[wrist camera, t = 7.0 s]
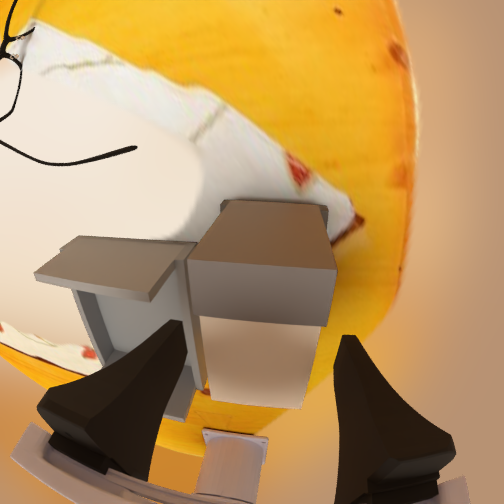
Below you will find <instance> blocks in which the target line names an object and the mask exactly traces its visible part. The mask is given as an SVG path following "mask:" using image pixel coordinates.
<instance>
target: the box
mask: <svg viewBox="0 0 504 504" xmlns="http://www.w3.org/2000/svg"><path fill="white" fill-rule="evenodd" d="M187 264H188V273H189V282H190V291H191V299H192V307H193V315H198V316H199V317H200V325H201V333H202V340H203V348H204V355H205V362H206V368H207V375H208V381H209V387H210V394H211V399H212V400H216V401H222V402H229V403H236V404H244V405H253V406H263V407H275V408H289V409H301V408H302V404H303V400H304V397H305V393H306V389H307V385H308V381H309V378H310V374H311V369H312V365H313V361H314V357H315V353H316V348H317V344H318V339H319V335H320V330H321V326H323V327H326V326H327V322H328V317H329V312H330V308H331V303H332V298H333V293H334V287H335V282H336V276H337V271H338V270H337V266H336V262H335V259H334V255H333V252H332V248H331V245H330V241H329V238H328V234H327V231H326V228H325V224H324V221H323V218H322V215H321V212H320V208H319V205H310V204H296V203H281V202H263V201H242V200H231V201H230V202H229V203H228V205H227V206H226V207H225V208H224V210H223V211H222V212H221V214H220V215H219V216H218V218H217V219H216V220H215V222H214V223H213V224H212V226H211V227H210V228H209V230H208V231H207V232H206V234H205V235H204V236H203V238H202V239H201V241H200V242H199V243H198V245H197V246H196V247H195V249H194V250H193V251H192V253H191V254H190V256H189V257H188V258H187Z"/></svg>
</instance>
